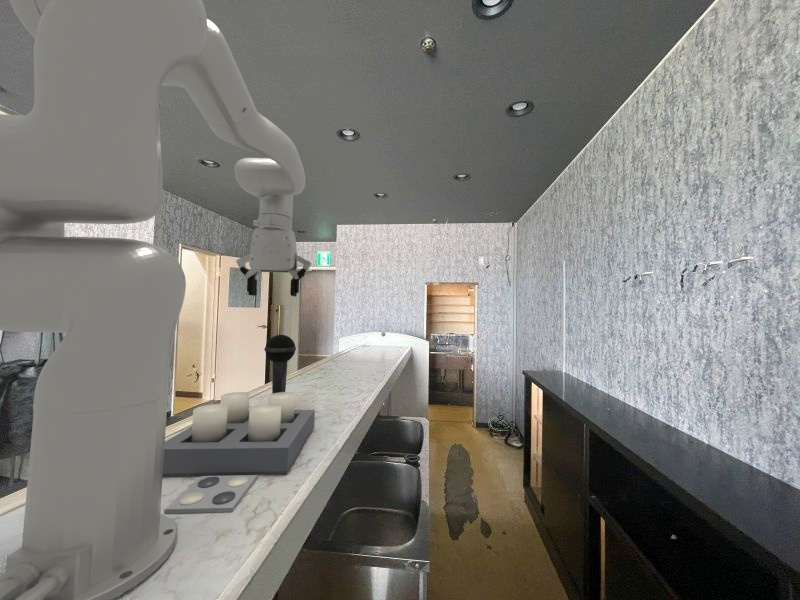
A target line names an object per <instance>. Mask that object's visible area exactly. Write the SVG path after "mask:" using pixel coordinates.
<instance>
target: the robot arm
mask: <svg viewBox="0 0 800 600" xmlns="http://www.w3.org/2000/svg"><path fill="white" fill-rule="evenodd" d="M9 3H10V5H11V8H12V9H13V11H14V14H15V15H16V16H17V19H19V21H20V23H21V25H23V27H24V28H25V30H26V31H27V32H28V33H29V34H30V36H32V37H33V39H34V42H33V43H34V44H33V72H34V73H33V80H34V81H33V83H34V84H33V85H34V87H33V88H34V98H33V99H34V101H33V102H34V103H33V108H32V109H31V111H30V112H28V113H27V114H25V115H24V114H6V113H5V114H3V113H2V114H1V113H0V331H3V332H12V333H13V332H15V333H50V334H53V333H56V334H57V333H59V334H60V333H62V334H63V333H65V334H64V335H65V336H64V337H63V339H61V342H59V344H58V345H57V346H56V348H55V349H54V351H53V352H52V353H51V355H50V356H49V357H48V359H47V360H46V362H45V363H44V366H43V367H42V368H41V370H40V373H39V376H38V378H37V382H36V385H35V388H34V393H33V396H34V397H33V404H32V405H33V407H32V410H33V414H32V426H31V427H32V428H31V436H30V437H31V438H30V449H29V460H28V470H27V471H28V472H27V474H28V475H27V484H26V494H25V497H26V498H25V506H24V507H25V508H24V517H23V528H22V529H23V531H22V543H21V547H20V548H18V549H16V550H15V551H14V552H12V553H10V554H9V555H7V556H6V566H5V572H4V574H2V575H0V600H115V599H116V598H118V597H120V596H121V595H123V594H124V593H126V592H129V590H132V589H133V588H135V587H136V586H137V585H138V584H140V583H141V582H143V581H145V579H146V578H148V577H149V576H151V574H153V572H155V571H156V570H157V569H158V568H159V567H160V566H161V565H162V564H163V563H164V562H166V560H167V559H168V557H169V556H170V555H171V553H172V552H173V550H174V549H175V546H176V543H177V540H178V526H177V523H176V522H175V520H174V519H173V518H172V517H170V516H168V515H165V514H161V508H162V507H161V505H162V494H163V493H162V491H163V479H164V477H163V463H164V447H165V441H166V431H167V429H166V428H167V412H168V393H169V378H170V377H169V375H170V366H171V365H170V364H171V356H172V349H173V342H174V337H175V333H176V330H177V329H176V328H177V326H178V321H179V318H180V315H181V311H182V310H183V309H182V308H183V305H184V301H185V296H186V287H187V282H186V275H185V272H184V269H183V267H182V265H181V264H180V262H179V261H178V260H177V258H175V256H174V255H173V254H171V253H170V252H169V251H168V250H166V249H164V248H162V247H160V246H158V245H155V244H152V243H151V242H147V241H142V240H139V239H138V240H137V239H132V238H131V239H130V238H120V237H99V236H97V237H96V236H95V237H94V236H66V235H65V227H66V226H65V224H91V225H92V224H95V225H96V224H97V225H98V224H101V225H105V224H106V225H127V224H139V223H142V222H147V221H148V220H150V219H152V218H154V217H155V216H156V215H157V213H158V212H160V209H161V206H162V202H163V201H162V200H163V190H164V189H163V187H164V186H163V163H162V145H161V144H162V143H161V130H160V129H161V127H160V94H161V88H162V86H165V87H166V86H168V87H180V88H182V89H184V91H185V90H186V92H187V94H188V95H189V97H190V98H191V100H192V101H193V103H194V104H195V107H197V109H198V110H199V112H200V114H201V116H202V117H203V118H204V120H205V121H206V123H207V124H208V126H209V128H210V130H211V131H212V133H214V135H216V137H218V138H219V139H221V140H223V141H225V142H227V143H229V144H231V145H234V146H235V147H238V148H241V149H244V150H246V151H250V152H252V153H255V154H258V155H261V156H263V158H262V157H245V158H240V159H239V160H237V162H236V163H235V165H234V170H233V171H234V176H235V177H234V178H235V180H236V182H237V184H238V185H239V187H241V189H242V190H243V191H244V192H246V193H248V194H249V195H252V196H254V197H256V198H258V199H259V214H258V218H257V219H256V220H252V225H253V226H254V227H257V228H254V231H253V236H252V238H251V244H250V250H249V252H250V253H249V254H246V255H244V256H242V257H240V258H238V259H236V261H235V262H236V264H237V266H238V269H239V271H240V272H241V273H242V274H243V275H244V276H245V278H246V279H247V280H246V282H247V283H246V292H247V293H248V296H253V297H254V296H255V297H256V296H257V293H258V292H257V290H258V280H257V279H256V277H257V276H258V275H259V274H260V273H261V272H262V273H288V274H290V276H291V277H292V278H291V279H290V290H289V291H290V292H289V293H290V294H289V296H291V297H297V295H298V294H299V291H300V281H301V280H302V278H303V277H304V276H305V275H307V273H308V270H309V269H310V267H311V266H312V263H311V262H310V261H309V260H307V259H305V258H303V257H301V256H300V255H298V253H297V252H298V250H297V242H296V234H295V231H294V230H293V214H294V213H293V212H294V211H293V208H294V207H293V206H294V196H297V195H300V194H301V193H302V192H304V189H305V187H306V174H305V169H304V166H303V162H302V160H301V157H300V154H299V152H298V149H297V147H296V145H295V143H294V142H293V140H292V139H291V138H290V137H289V136H288V135H287V134H286V133H285V132H284V131H282V129H280V128H279V127H278V126H277V125H276V124H275V123H273V122H272V121H271V120H269V119H268V118H267V117H265V116H263V115H262V114H261V113H259V111H258V110H257V108H256V105H255V103H254V101H253V98H252V96H251V94H250V92H249V90H248V87H247V84H246V82H245V81H244V79H243V76H242V73H241V71H240V69H239V67H238V65H237V62H236V60H235V58H234V56H233V53H232V51H231V49H230V47H229V44H228V42H227V40H226V38H225V36H224V35H223V33H222V31H221V30H220V28H218V26H217V25H216V24H215V23H214V22H213V21H211V20H210V19H209V18H207V12H206V9H205V5H204V2H203V0H9ZM298 262H299V263H301V264H302V268H301V269H300V270H298V271H297V267H298ZM247 263H248V265H249V267H250V269H248V268H247V265H246V264H247Z"/></svg>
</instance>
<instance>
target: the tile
mask: <svg viewBox="0 0 800 600" xmlns="http://www.w3.org/2000/svg"><path fill="white" fill-rule="evenodd" d="M258 477H259V475H232V476H199V478H198V479H197V480H196V481H194V483H192V484H191V485H190V486H189V487H188V488H187V489H186V490H184V491H183V492H181V494H180V495H179V496H178V497H177V498H175V500H173V501H172V502H171V503H169V505H168V506H166V508H164V511H163V512H164V514H163V515H165V514H167V515H168V514H202V513H203V514H205V513H233V512H234V510H235V509H236V508H237V507H238V505H239V504H240V503H241V501H242V499H244V497H245V496H246V495H247V493H248V492H249V490H250V489H251V488H252V487H253V485H254V484H255V483H256V481H257V480H258Z"/></svg>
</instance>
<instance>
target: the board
mask: <svg viewBox="0 0 800 600" xmlns="http://www.w3.org/2000/svg"><path fill="white" fill-rule="evenodd" d="M248 428H249V415H248V420H247V421H246V422H244V423H227V434H226V437H225V438H224V439H222V440H221V441H218V442H194V443H192V442H191V441H192V425H191V426H190V427H188V428H186V429H184V430H182V431H181V432H179V433H178V434H175V436H172V437H171V438H169V439H167V440H165V447H164V463H163V478H173V477H174V478H176V477H177V478H179V477H180V478H181V477H184V478H185V477H201V476H232V475H258V476H278V475H280V476H284V475H285V476H286V475H288V474H289V473H290V471H291V469H292V467H293V465H294V463H295V462H296V460H297V459H298V457H299V456H300V453H301V452H302V450H303V448H304V447H305V445H306V443H307V442H308V440H309V438H310V437H311V435H312V433H313V431H314V430H313V428H314V429H315V409H295V410H294V421H292V422H290V423H281V424H280V437H279V438H278V439H277V440H275V441H272V442H249V441H248ZM312 430H313V431H312ZM311 432H312V433H311ZM310 434H311V435H310ZM307 439H308V440H307ZM304 444H305V445H304ZM303 446H304V447H303Z"/></svg>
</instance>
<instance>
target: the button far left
mask: <svg viewBox="0 0 800 600" xmlns="http://www.w3.org/2000/svg"><path fill="white" fill-rule="evenodd" d="M220 404H225V405H227V406H228V413H227V423H244V422H246V421H247V420H248V415H249V409H250V393H249V392H244V391H238V392H237V391H236V392H235V391H234V392H229V393H225V394H224V393H223V394H222V395H220Z"/></svg>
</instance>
